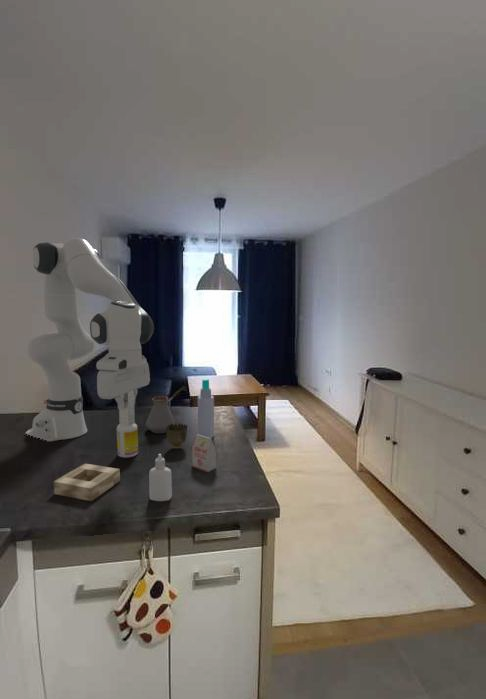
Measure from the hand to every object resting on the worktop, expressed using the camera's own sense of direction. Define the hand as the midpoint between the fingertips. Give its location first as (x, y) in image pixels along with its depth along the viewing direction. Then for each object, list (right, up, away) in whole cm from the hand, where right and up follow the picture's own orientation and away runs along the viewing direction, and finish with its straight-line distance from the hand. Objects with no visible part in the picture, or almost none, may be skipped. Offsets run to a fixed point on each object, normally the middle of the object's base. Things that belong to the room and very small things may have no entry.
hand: (126, 406), depth 110 cm
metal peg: (0, -5, +1) cm, 5 cm away
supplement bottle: (-5, -19, +19) cm, 27 cm away
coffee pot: (+3, -15, +48) cm, 50 cm away
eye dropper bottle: (+12, -23, -9) cm, 27 cm away
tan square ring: (-9, -22, -4) cm, 24 cm away
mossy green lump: (+10, -18, +24) cm, 32 cm away
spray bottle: (+19, -17, +36) cm, 44 cm away
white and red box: (+21, -20, +9) cm, 31 cm away
